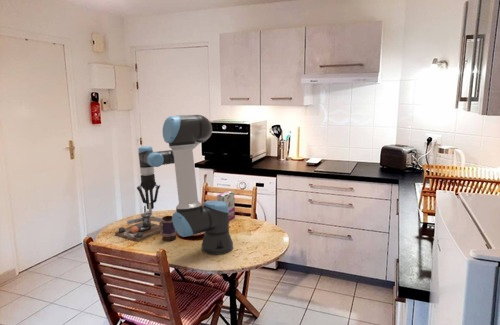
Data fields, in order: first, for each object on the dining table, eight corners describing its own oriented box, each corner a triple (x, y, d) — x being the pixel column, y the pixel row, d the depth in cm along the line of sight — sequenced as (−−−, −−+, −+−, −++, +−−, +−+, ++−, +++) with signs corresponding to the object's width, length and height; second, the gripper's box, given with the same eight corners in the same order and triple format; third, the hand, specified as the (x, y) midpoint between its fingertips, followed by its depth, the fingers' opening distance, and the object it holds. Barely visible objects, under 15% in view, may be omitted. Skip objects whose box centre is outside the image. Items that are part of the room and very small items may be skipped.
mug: (168, 235, 188) (167, 213, 186) (179, 237, 185) (177, 215, 183) (155, 242, 179) (153, 219, 177) (166, 244, 176) (165, 221, 174)
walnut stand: (166, 229, 197) (165, 223, 196) (138, 241, 180) (137, 235, 179) (143, 223, 206) (143, 218, 205) (115, 235, 189) (114, 229, 188)
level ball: (140, 232, 187) (140, 225, 186) (134, 235, 184) (134, 228, 183) (135, 231, 189) (134, 224, 188) (129, 233, 186) (128, 226, 185)
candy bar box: (228, 216, 217) (228, 190, 214) (235, 217, 214) (234, 191, 212) (217, 221, 208) (216, 194, 205) (224, 223, 205) (223, 196, 202)
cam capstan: (165, 220, 205) (165, 207, 204) (164, 231, 189) (163, 216, 188) (131, 223, 202) (130, 209, 201) (127, 234, 186) (126, 219, 185)
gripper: (160, 172, 201) (163, 211, 205) (137, 173, 200) (140, 212, 204) (158, 174, 194) (161, 215, 198) (134, 176, 192) (138, 217, 197)
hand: (150, 214), depth 201 cm, fingers closed
